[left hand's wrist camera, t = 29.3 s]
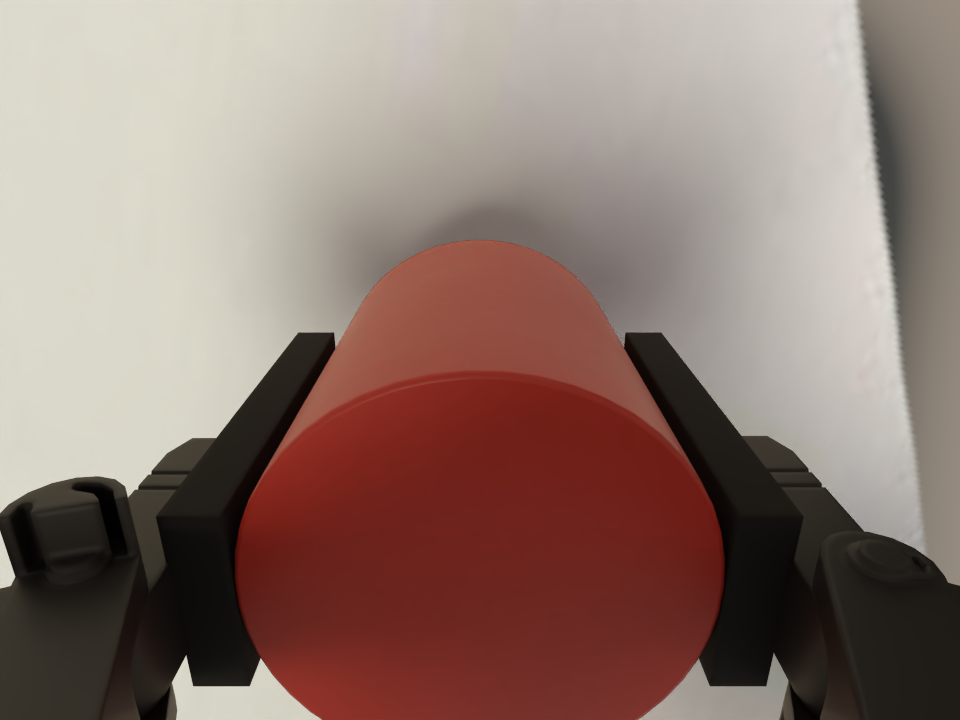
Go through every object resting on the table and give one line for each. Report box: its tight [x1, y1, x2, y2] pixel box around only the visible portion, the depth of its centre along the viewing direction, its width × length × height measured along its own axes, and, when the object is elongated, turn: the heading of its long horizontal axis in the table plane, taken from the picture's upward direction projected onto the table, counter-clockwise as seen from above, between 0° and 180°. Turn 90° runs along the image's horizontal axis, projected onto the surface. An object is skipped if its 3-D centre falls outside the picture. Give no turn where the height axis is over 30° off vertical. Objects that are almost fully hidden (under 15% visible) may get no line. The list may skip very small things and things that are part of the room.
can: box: [235, 240, 725, 720], centre depth 11 cm, size 6×6×7 cm
